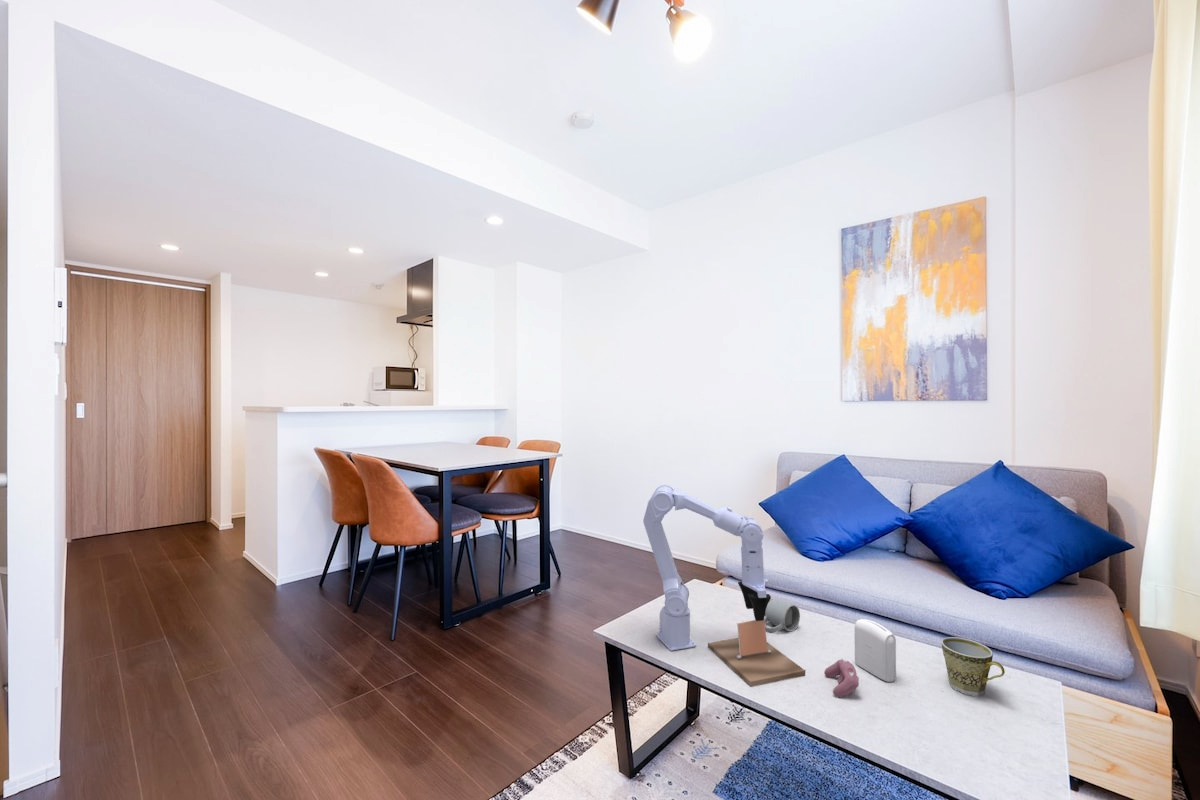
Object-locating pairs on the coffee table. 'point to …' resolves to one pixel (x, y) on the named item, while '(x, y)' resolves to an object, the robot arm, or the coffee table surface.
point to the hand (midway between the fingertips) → (754, 614)
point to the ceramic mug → (782, 616)
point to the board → (756, 663)
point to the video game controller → (843, 677)
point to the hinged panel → (752, 638)
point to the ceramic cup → (968, 665)
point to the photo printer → (875, 649)
